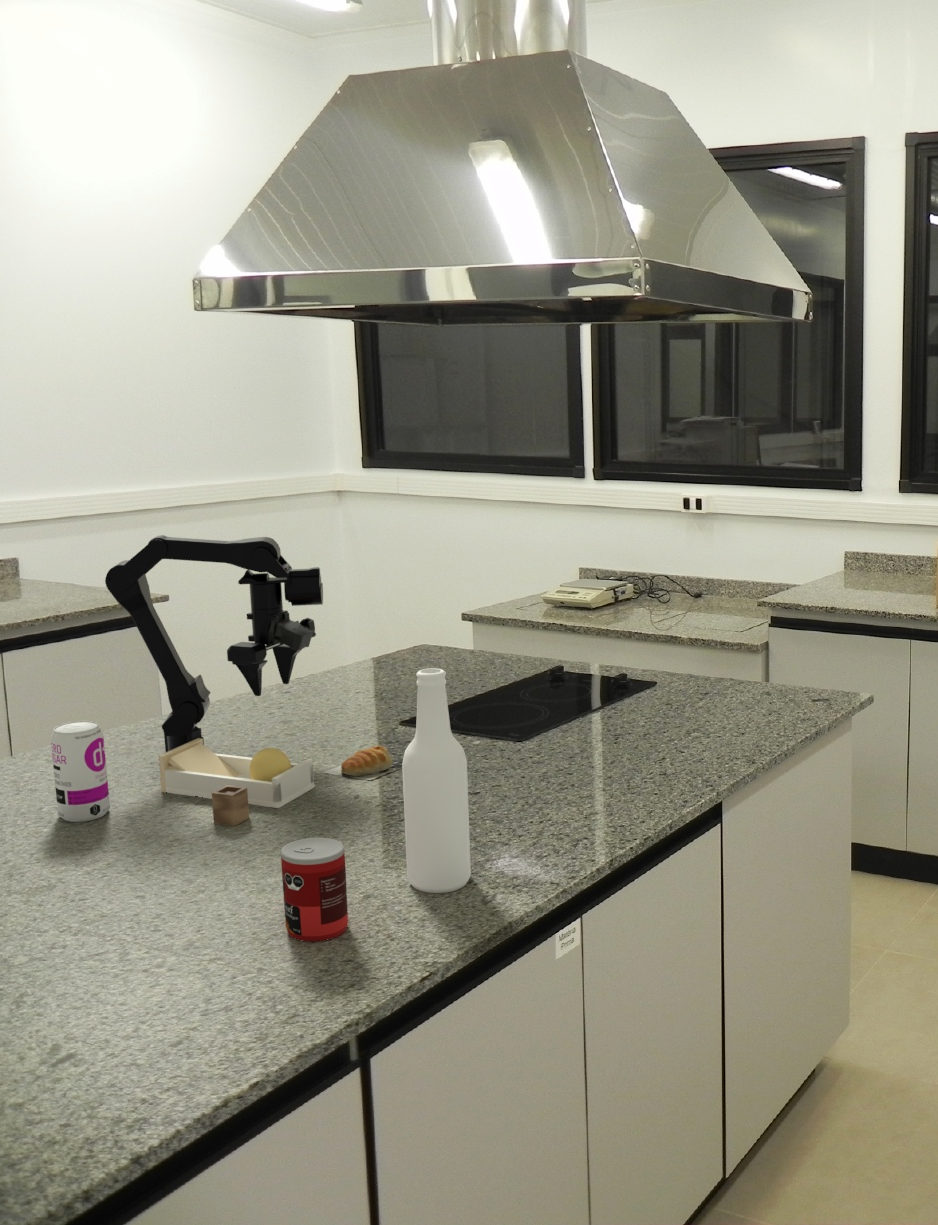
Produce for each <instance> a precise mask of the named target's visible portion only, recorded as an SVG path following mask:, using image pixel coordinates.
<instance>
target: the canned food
mask: <svg viewBox="0 0 938 1225" xmlns="http://www.w3.org/2000/svg"><path fill="white" fill-rule="evenodd" d="M344 847H345V846H344V844H343V843H342V842H341V841H340V840H337V839H333V838H329V837H308V838H301V839H297V840H295V841H294V840H293V841H291V842H289V843H287V844H285V845H284V846H283V847H282V848H281V849H280V850H281V852H280V854H281V855H280V861H281V862H280V863H281V878H282V880H281V881H282V889H283V890H282V893H283V905H284V908H283V909H284V921H285V922H284V923H285V928H286V930H287V933H288V935H289V936H290V938H293V939H294V938H296V939H295V940H297V939H299V940H298V941H300V940H303V941H302V942H306V941H312V942H311V943H315V942H314V941H320V942H325V941H324V940H326V941H328V940H327V939H330V940H332V939H331V938H333V939H335V937H336V938H338V937H340V936H342V933H343V934H344V933H345V932H346V930H347V928H348V924H349V912H348V892H347V890H348V889H347V874H346V872H347V871H346V870H347V869H346V856H345V848H344ZM339 935H340V936H339Z"/></svg>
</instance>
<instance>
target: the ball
mask: <svg viewBox="0 0 938 1225" xmlns="http://www.w3.org/2000/svg"><path fill="white" fill-rule="evenodd" d="M251 758H252V760H251V763H250V768H249V771H250V776H251V778H252V779H253V780H261V781H268V782H272V778H274V777H275V776H277V775H279V774H281V773H283V772H285V771H286V770H288V769H290V768H291V763H292V762H291V761H290V758H289V757H288V756H287V754H286V753H285V752H283V750H280V749H278V748H276V747H275V748H274V747H272V748H271V747H268V748H264V749H261V750H259V751H258V752H257V753H255V754H254V756H252V757H251ZM290 762H291V763H290Z"/></svg>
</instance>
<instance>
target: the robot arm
mask: <svg viewBox="0 0 938 1225" xmlns="http://www.w3.org/2000/svg"><path fill="white" fill-rule="evenodd" d="M162 560H175V561H188V562H189V561H190V562H191V561H192V562H203V563H204V562H205V563H206V562H207V563H220V564H221V563H223V564H228V565H231V566H235V567H237V568H240V569H244V570H245V572H244V574H243V576H242V577H240V578H239V580H238V581H237V584H239V585H249V594H250V595H249V596H250V598H249V599H250V610H251V612H248V613H246V620H251V626H252V627H251V628H252V634H249V635H248V638H247V639H248V642H246V641H240V642H237V643H234V644H232V645H230V646H229V647H228V648H227V649H226V655H227V657H226V658H227V660H226V661H227V662H231V663H232V665H235V666H236V668H237V669H238V670H239V672H240V673H241V674H242V676H243V678H244V679H245V681H246V683H247V684H248V686H249V687H250V689H251V692H252V693H253V695H254V696H256V697H260V696H262V688H263V686H262V681H263V680H262V679H263V678H262V677H263V676H262V675H263V668H264V667H265V665H266V664H267V663H268V660H267V659H266V657H267V655H268V653H267V651H269V650H272V652H273V655H274V658H275V662H276V665H277V669H278V673H279V676H280V679H281V682H282V684H284V685H288V684H289V683H290V681H291V677H292V672H293V668H294V664H295V661H296V658H297V656H298V654H299V653H300V652H301V651H302V650H303V649H305V648H308V647H310V644H311V640H312V638H314V637H316V636H317V634H316V626H315V620H314V619H312V618H310V617H306V618H303V619H301V621H299V620H296V621H294V620H292V619H291V618H290V613H289V611H288V610H284V606H283V592H282V584H284V585H283V586H284V588H283V590H284V600H285V601H287V602H288V603H291V606H292V607H294V606H295V607H296V606H297V607H299V606H317V605H318V606H319V605H321V606H322V605H323V604H324V585H323V582H322V576H321V568H320V567H316V566H315V567H310V568H297V569H295V568H292V566H291V565H290V563H289V562H288V561H287V560H286V559H285V558H284V557H283V555H282V554H281V548H280V545H279V543H277V541H276V540H275V539H274V538H271V537H270V536H269V537H268V536H260V537H249V538H243V539H237V540H219V539H218V540H217V539H204V538H203V539H202V538H199V539H198V538H187V537H171V536H166V535H165V534H164V535H163V534H162V535H157V536H155V537H153V538H151V539H150V540H149V541H148V543H147V544H146V545H145V546H144V547H143V548H142V549H141V550H140V551H138V552H137V553H136V554H135V555H134V556H132V557H131V558H130V559H128V560H127V559H126V560H125V559H124V560H123V561H121V562H119V563H117V564H115V565H114V566H113V567H111V568H110V569H109V570H108V571H107V573H106V576H105V580H104V582H105V587H106V589H107V590H108V591H109V593H110V594H111V595H112V597H113V598H114V599H115V600H116V602H117V603H118V605H120V606H121V607H122V608H123V609H124V610H125V611H126V612H127V613H128V614H129V615H130V617H131V618H132V620H133V622H134V624H135V626H136V628H137V631H139V634H140V636H141V637H142V639H143V642H144V644H145V645H146V647H147V649H148V652H149V653H150V655H151V656H152V659H153V662H154V663H155V664H156V666H157V668H158V671H159V673H160V674H161V676H162V677H163V680H164V682H165V685H166V692H167V696H168V702H169V705H170V708H171V712H170V713H169V715H168V716H167V718H166V719H165V720H164V722H163V723H162V724H161V729H162V732H163V739H164V748H165V749H164V750H165V751H164V752H165V753H166V752H168V751H171V750H173V749H175V748H177V747H179V746H182V745H184V744H186V743H188V742H191V741H193V740H195V739H197V738H201V739H203V745H204V746H205V742H204V740H205V739H204V737H203V736H202V728H201V727H199V726H197V725H198V723H200V722H201V721H202V720H203V718H204V717H205V715H206V713H207V712H208V710H209V707H210V704H211V703H210V702H211V700H210V697H209V696H210V694H211V691H210V690H209V689H208V688H207V687H206V685H205V682H204V679H203V676H202V674H198V675H197V676H196V677H194V676H193V675H192V674H191V673H189V671H188V670H187V669H186V667H185V665H184V663H183V661H182V659H181V657H180V655H179V653H178V651H177V650H176V647H175V645H174V643H173V642H172V640H171V638H170V636H169V634H168V631H167V630H166V628H165V626H164V624H163V622H162V620H161V619H160V616H159V614H158V613H157V611H156V609H155V607H154V605H153V601H152V597H151V596H152V595H151V590H150V584H149V581H148V579H147V575H146V574H147V573H148V572H150V570H152V569H153V568H154V567H156V565H158V564H159V563H160V561H162ZM253 571H254V572H257V573H253ZM270 575H271V576H270ZM272 576H273V577H272Z"/></svg>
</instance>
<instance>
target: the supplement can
mask: <svg viewBox="0 0 938 1225" xmlns="http://www.w3.org/2000/svg"><path fill="white" fill-rule="evenodd" d="M50 746H51V748H50V749H51V755H52V756H51V757H52V758H51V759H52V764H53V765H52V766H53V775H54V786H55V787H54V788H55V795H56V796H55V797H56V805H57V815H58V817H60V818H62V820H64V821H66V822H71V823H82V822H83V823H84V822H88V821H94V820H96V819H101V818H102V817H103V816H105V815H106V814H107V812H108V811H109V810H110V808H111V804H110V803H111V802H110V793H109V784H108V783H109V781H108V780H109V779H108V770H107V760H106V748H105V739H104V732H103V730H102V728H101V727H100V726H99V723H98V722H96V721H94V720H93V721H92V720H76V721H75V720H74V721H68V722H64V723H61V724H59V725H56V726H54V727H53V731H52V733H51V736H50Z"/></svg>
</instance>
